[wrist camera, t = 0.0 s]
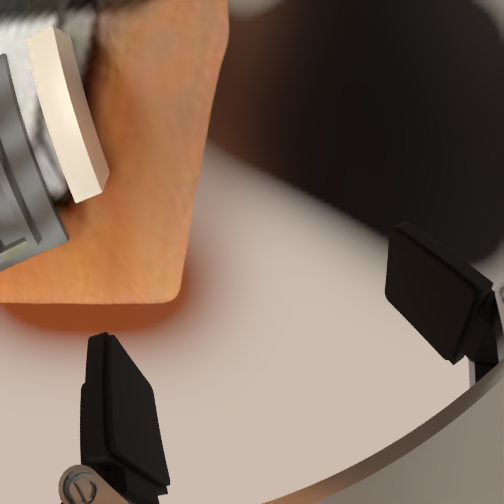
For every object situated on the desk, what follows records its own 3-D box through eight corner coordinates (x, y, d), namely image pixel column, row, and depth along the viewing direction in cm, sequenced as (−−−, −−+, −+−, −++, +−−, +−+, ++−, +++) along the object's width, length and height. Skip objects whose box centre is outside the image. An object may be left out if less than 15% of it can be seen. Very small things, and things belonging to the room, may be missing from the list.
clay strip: (47, 47, 24) (24, 39, 18) (70, 36, 25) (52, 24, 18) (88, 180, 34) (75, 203, 28) (110, 171, 35) (102, 192, 28)
